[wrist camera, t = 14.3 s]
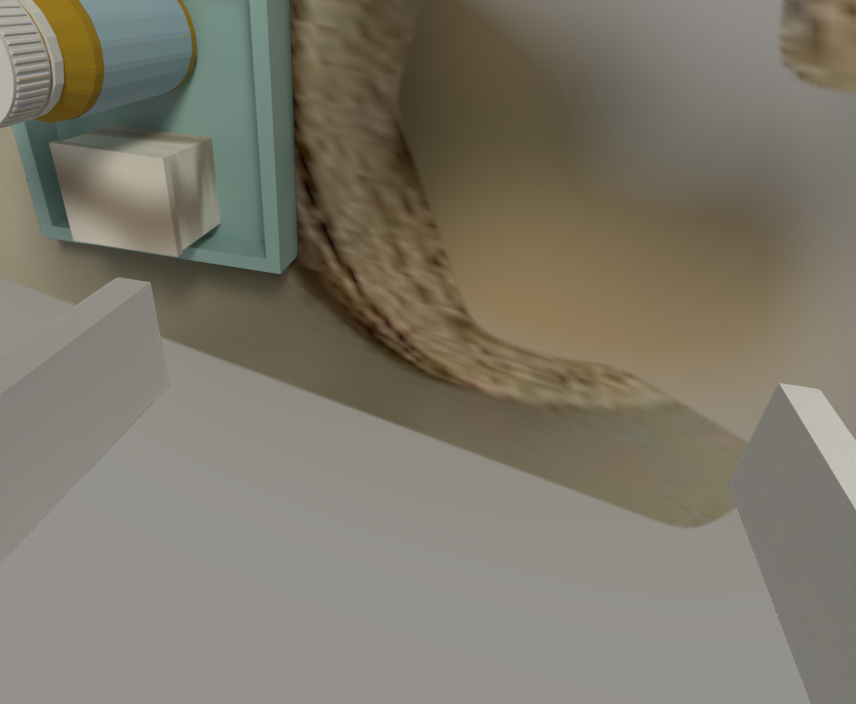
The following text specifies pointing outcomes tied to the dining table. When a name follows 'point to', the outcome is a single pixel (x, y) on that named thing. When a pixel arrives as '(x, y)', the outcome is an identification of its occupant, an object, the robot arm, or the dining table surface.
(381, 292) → the dining table surface
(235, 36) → the tote
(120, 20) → the bottle
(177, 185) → the beige rectangular box
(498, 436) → the dining table surface
